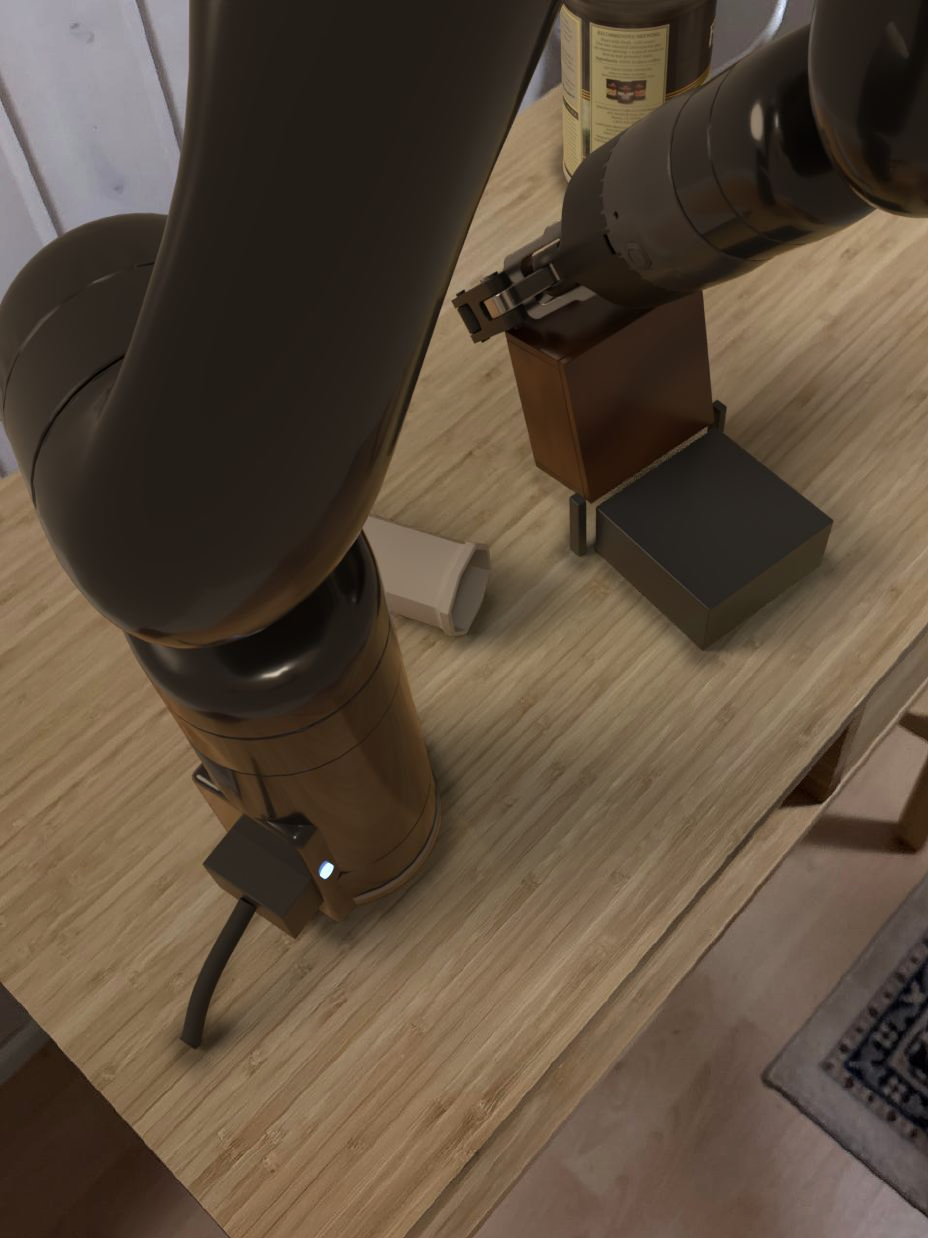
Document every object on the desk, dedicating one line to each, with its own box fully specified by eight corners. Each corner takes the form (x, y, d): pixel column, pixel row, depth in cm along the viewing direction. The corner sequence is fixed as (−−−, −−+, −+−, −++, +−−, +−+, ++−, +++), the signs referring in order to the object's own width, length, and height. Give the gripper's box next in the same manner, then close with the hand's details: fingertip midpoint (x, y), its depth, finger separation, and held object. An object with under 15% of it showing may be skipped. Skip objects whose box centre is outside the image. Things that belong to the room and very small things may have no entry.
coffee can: (675, 108, 87) (689, -89, 75) (724, 189, 81) (747, -10, 69) (544, 138, 86) (537, -56, 75) (583, 222, 81) (583, 25, 69)
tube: (48, 494, 66) (440, 623, 58) (87, 412, 67) (478, 528, 59) (97, 526, 71) (464, 649, 63) (132, 449, 72) (498, 561, 64)
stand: (834, 554, 63) (850, 501, 59) (689, 662, 60) (695, 613, 57) (710, 453, 68) (717, 398, 64) (569, 548, 65) (568, 497, 61)
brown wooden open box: (699, 246, 57) (604, 208, 61) (557, 332, 54) (470, 285, 59) (714, 421, 64) (629, 375, 69) (591, 504, 62) (511, 450, 66)
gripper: (772, 44, 49) (594, 161, 65) (508, 192, 45) (387, 279, 61) (843, 206, 51) (654, 282, 66) (595, 361, 47) (456, 404, 63)
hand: (526, 281), depth 64 cm, fingers open, 7 cm apart
